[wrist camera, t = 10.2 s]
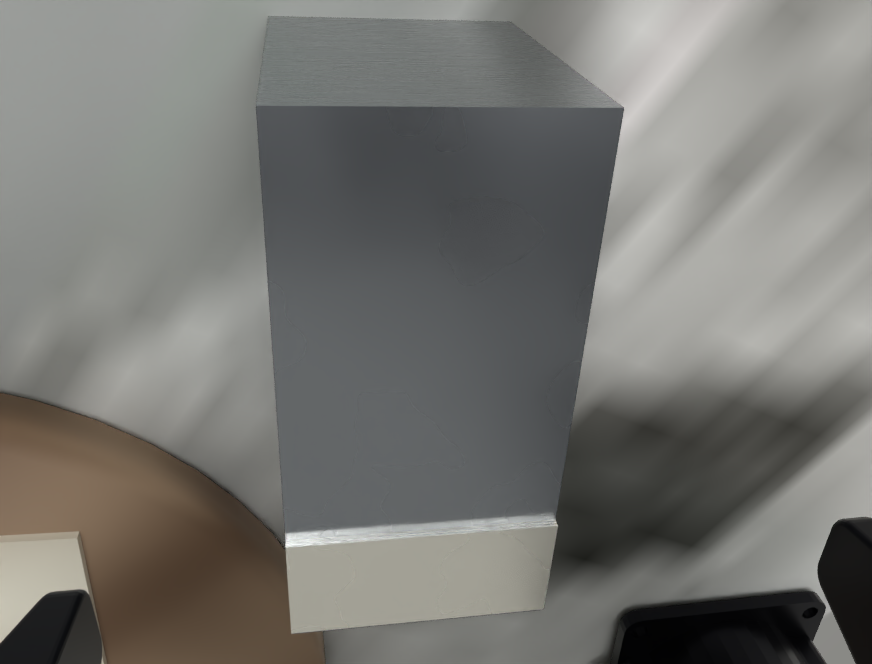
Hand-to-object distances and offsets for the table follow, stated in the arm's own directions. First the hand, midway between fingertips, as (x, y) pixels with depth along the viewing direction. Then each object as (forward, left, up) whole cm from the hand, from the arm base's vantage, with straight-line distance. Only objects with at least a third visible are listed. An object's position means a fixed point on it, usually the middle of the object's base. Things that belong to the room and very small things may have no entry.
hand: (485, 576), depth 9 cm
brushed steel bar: (0, 0, -9) cm, 9 cm away
